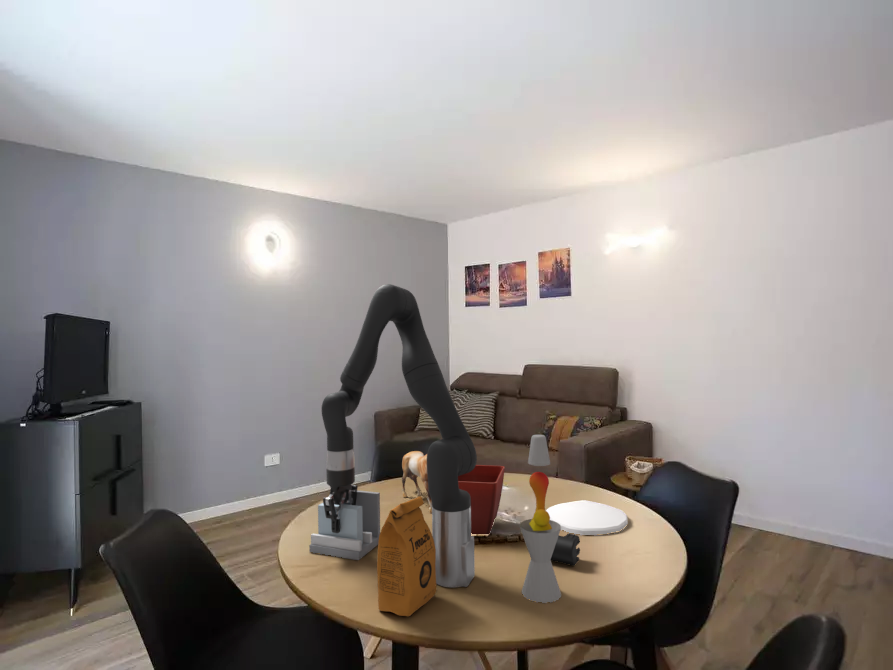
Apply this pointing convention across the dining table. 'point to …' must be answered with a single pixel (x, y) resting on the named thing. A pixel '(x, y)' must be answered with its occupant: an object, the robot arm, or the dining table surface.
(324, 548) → the grey slotted stand
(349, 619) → the dining table surface
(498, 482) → the plant pot
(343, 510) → the door panel
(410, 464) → the horse figurine
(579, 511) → the decorative plate
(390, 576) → the coffee package
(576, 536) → the end cap
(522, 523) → the lava lamp
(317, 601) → the dining table surface
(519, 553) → the dining table surface
